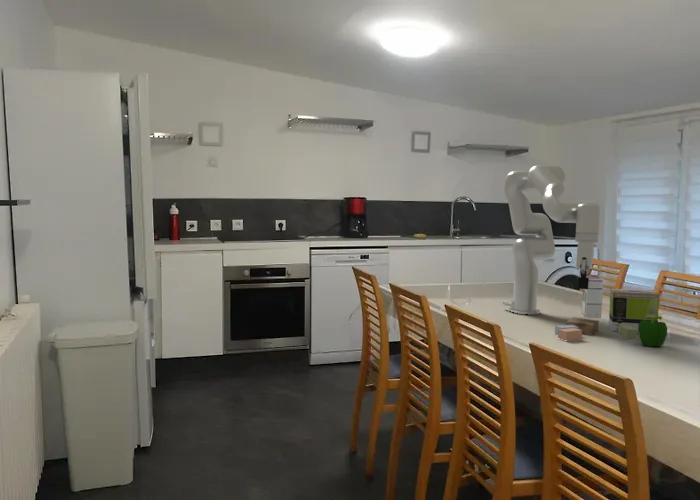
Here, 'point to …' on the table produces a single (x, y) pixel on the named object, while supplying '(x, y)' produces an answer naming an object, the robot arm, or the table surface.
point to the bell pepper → (652, 332)
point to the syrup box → (593, 297)
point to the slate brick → (564, 327)
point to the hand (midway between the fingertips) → (584, 287)
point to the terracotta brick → (570, 334)
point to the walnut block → (584, 325)
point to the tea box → (632, 307)
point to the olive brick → (628, 331)
